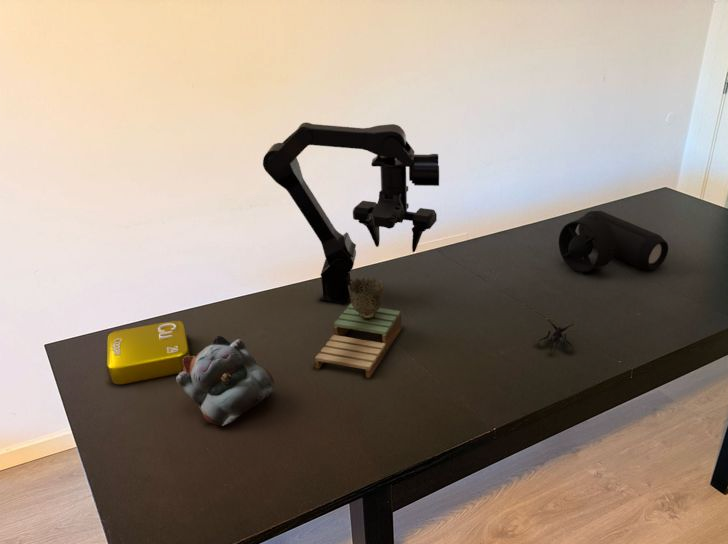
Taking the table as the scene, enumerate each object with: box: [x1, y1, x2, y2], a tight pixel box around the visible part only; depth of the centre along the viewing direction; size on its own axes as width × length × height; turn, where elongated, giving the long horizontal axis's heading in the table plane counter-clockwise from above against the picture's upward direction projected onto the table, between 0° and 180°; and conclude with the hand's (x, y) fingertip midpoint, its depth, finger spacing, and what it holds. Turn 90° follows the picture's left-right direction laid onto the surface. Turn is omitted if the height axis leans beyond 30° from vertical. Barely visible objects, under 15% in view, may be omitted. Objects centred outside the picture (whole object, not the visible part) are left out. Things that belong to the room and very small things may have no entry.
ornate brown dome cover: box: [348, 276, 384, 320], centre depth 141 cm, size 8×7×8 cm
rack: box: [314, 303, 402, 379], centre depth 141 cm, size 12×20×5 cm, turn 165°
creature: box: [536, 318, 574, 354], centre depth 143 cm, size 8×5×8 cm
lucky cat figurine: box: [175, 335, 275, 427], centre depth 122 cm, size 15×12×14 cm
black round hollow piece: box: [558, 214, 616, 274], centre depth 173 cm, size 14×14×10 cm
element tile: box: [106, 320, 191, 385], centre depth 135 cm, size 15×15×5 cm
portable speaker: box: [578, 210, 669, 271], centre depth 182 cm, size 26×10×10 cm, turn 36°
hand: (395, 248), depth 155 cm, fingers open, 9 cm apart
